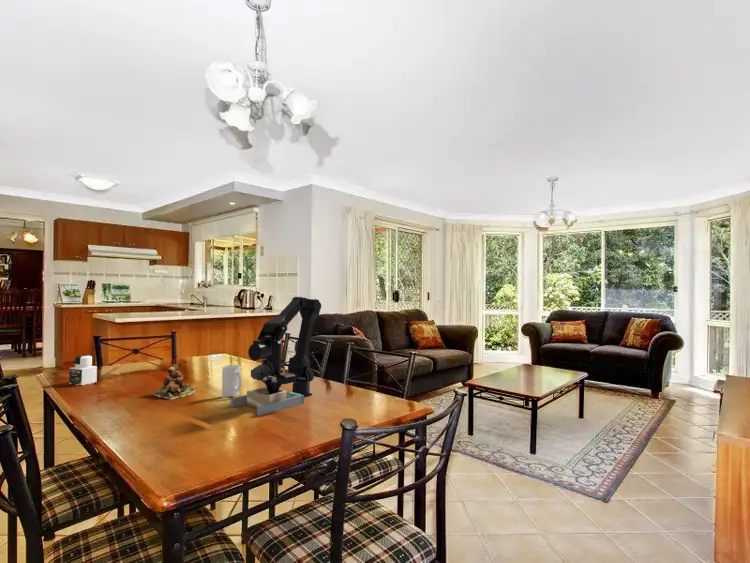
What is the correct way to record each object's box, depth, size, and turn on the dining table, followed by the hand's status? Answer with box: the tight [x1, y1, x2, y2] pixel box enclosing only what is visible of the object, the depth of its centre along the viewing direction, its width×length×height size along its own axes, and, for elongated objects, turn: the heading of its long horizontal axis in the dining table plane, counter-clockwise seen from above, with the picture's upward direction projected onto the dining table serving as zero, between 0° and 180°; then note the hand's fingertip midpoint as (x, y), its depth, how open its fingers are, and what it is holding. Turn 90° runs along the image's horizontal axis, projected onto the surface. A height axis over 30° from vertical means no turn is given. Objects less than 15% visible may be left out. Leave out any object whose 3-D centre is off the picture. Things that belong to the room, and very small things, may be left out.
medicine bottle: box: [68, 354, 98, 386], centre depth 180 cm, size 7×7×12 cm
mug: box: [221, 364, 242, 399], centre depth 162 cm, size 10×7×12 cm, turn 50°
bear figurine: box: [153, 362, 196, 400], centre depth 165 cm, size 14×15×12 cm
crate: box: [246, 386, 290, 409], centre depth 149 cm, size 10×11×5 cm
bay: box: [229, 391, 305, 417], centre depth 149 cm, size 20×16×4 cm
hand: (272, 399), depth 151 cm, fingers closed, pressing on crate
